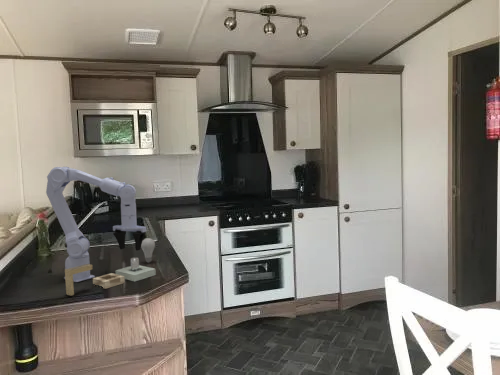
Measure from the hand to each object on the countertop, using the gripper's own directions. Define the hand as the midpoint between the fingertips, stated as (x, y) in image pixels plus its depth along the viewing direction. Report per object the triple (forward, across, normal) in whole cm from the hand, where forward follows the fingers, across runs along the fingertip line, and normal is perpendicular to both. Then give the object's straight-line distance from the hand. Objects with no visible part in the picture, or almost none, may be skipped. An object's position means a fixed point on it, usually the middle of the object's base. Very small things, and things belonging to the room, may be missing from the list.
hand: (130, 249), depth 157 cm
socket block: (+10, -1, -12) cm, 16 cm away
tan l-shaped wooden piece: (+10, -4, -23) cm, 25 cm away
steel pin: (+10, +2, -1) cm, 11 cm away
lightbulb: (+10, -5, +18) cm, 21 cm away
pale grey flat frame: (+10, +3, -1) cm, 11 cm away
